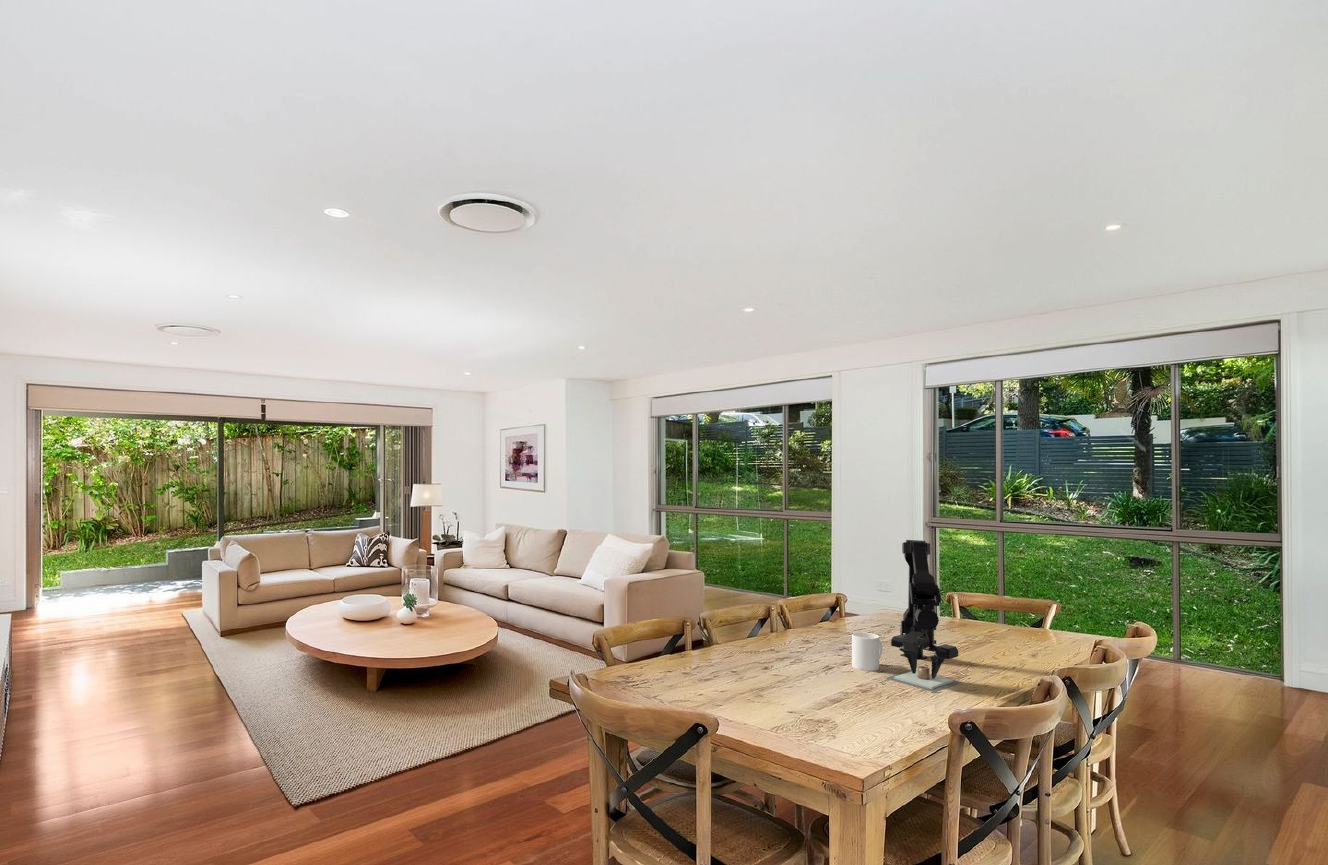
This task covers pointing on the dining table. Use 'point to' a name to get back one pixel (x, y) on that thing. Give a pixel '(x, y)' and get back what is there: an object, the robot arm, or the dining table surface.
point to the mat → (925, 687)
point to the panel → (923, 678)
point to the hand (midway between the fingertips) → (923, 675)
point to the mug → (866, 651)
